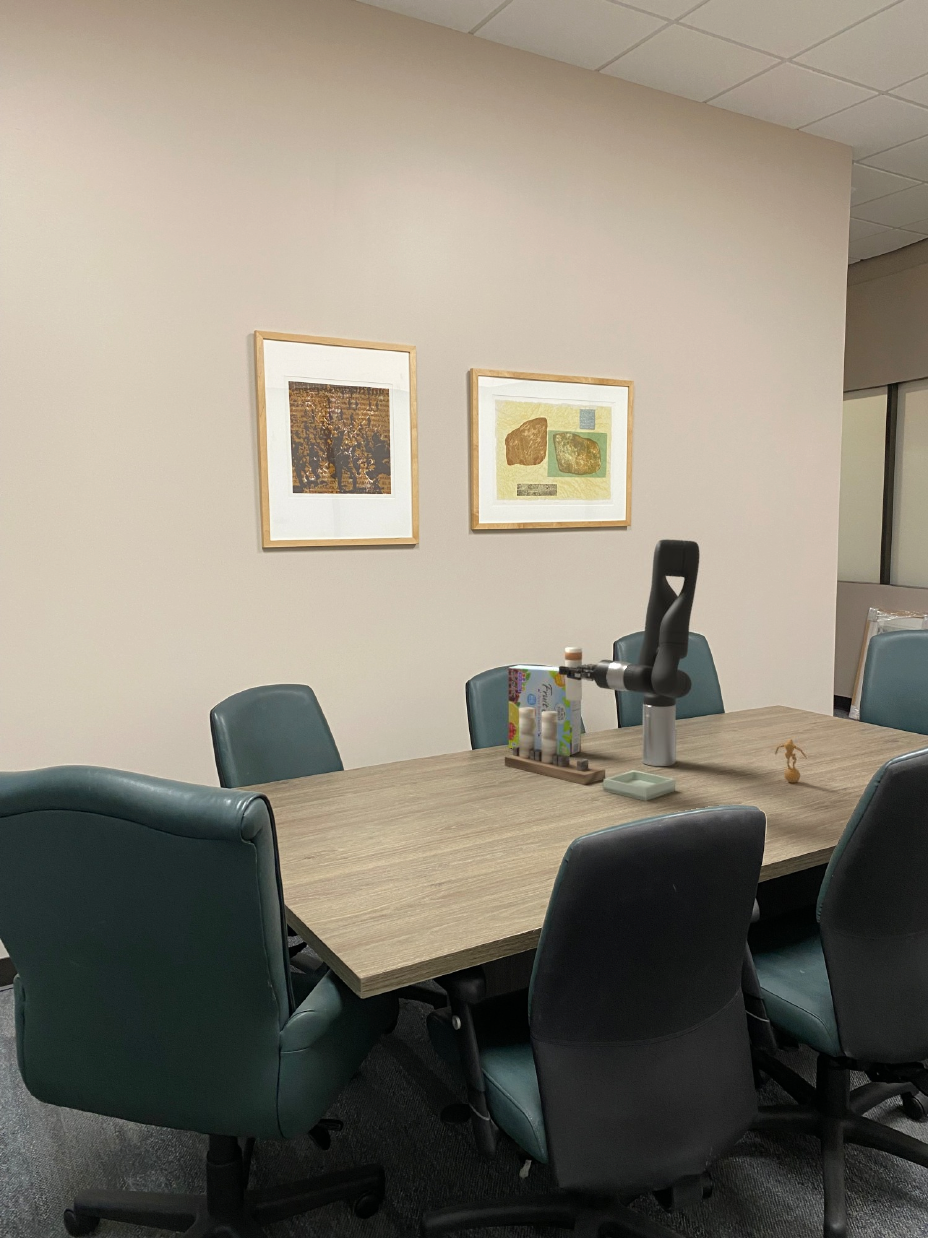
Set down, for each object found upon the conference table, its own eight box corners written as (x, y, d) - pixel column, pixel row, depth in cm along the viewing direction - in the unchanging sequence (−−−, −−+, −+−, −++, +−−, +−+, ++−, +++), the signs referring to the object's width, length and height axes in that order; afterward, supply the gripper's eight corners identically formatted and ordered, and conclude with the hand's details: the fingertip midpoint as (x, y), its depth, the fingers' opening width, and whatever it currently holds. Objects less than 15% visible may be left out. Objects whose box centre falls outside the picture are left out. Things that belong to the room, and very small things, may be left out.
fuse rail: (525, 760, 258) (525, 704, 257) (605, 778, 237) (605, 718, 236) (504, 765, 252) (504, 708, 250) (584, 784, 231) (584, 722, 229)
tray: (633, 781, 234) (633, 770, 234) (675, 790, 225) (675, 779, 224) (603, 790, 225) (603, 779, 225) (645, 801, 216) (646, 789, 215)
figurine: (810, 783, 231) (811, 738, 230) (802, 788, 226) (803, 742, 225) (779, 778, 236) (780, 734, 235) (770, 783, 231) (771, 738, 230)
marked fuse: (572, 697, 241) (572, 646, 240) (585, 699, 238) (585, 647, 236) (561, 699, 238) (561, 648, 236) (574, 701, 234) (574, 649, 233)
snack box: (582, 751, 268) (583, 668, 266) (570, 757, 261) (570, 671, 259) (520, 743, 280) (520, 663, 278) (507, 748, 273) (506, 666, 271)
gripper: (633, 658, 231) (582, 652, 244) (599, 664, 221) (548, 658, 234) (632, 686, 232) (581, 679, 244) (599, 693, 222) (548, 685, 234)
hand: (565, 669), depth 239 cm, fingers closed on marked fuse, 4 cm apart
